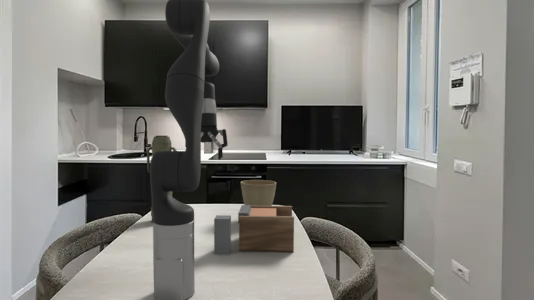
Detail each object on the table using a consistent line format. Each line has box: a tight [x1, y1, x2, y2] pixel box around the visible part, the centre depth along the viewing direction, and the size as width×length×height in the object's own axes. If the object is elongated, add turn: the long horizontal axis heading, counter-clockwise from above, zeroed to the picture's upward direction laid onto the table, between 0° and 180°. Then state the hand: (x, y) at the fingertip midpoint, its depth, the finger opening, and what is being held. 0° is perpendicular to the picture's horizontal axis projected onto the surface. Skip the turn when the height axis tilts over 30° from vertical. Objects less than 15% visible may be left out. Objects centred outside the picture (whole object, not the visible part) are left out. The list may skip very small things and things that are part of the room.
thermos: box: [146, 135, 178, 224], centre depth 151 cm, size 9×12×35 cm
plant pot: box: [240, 179, 277, 206], centre depth 154 cm, size 15×15×16 cm
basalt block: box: [213, 214, 232, 256], centre depth 115 cm, size 4×4×11 cm
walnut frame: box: [238, 205, 295, 253], centre depth 123 cm, size 16×17×11 cm
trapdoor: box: [237, 204, 276, 224], centre depth 123 cm, size 13×12×3 cm
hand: (207, 160), depth 127 cm, fingers open, 8 cm apart
